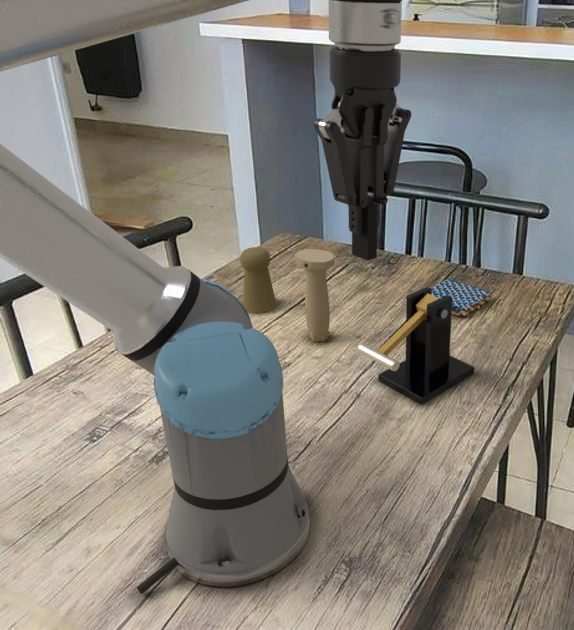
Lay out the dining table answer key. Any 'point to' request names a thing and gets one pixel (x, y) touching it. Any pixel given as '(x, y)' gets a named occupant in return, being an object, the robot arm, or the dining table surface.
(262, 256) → the olive pawn shaped figure
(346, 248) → the dining table surface
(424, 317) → the lever
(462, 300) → the woven mat
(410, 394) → the bracket
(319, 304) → the handle
